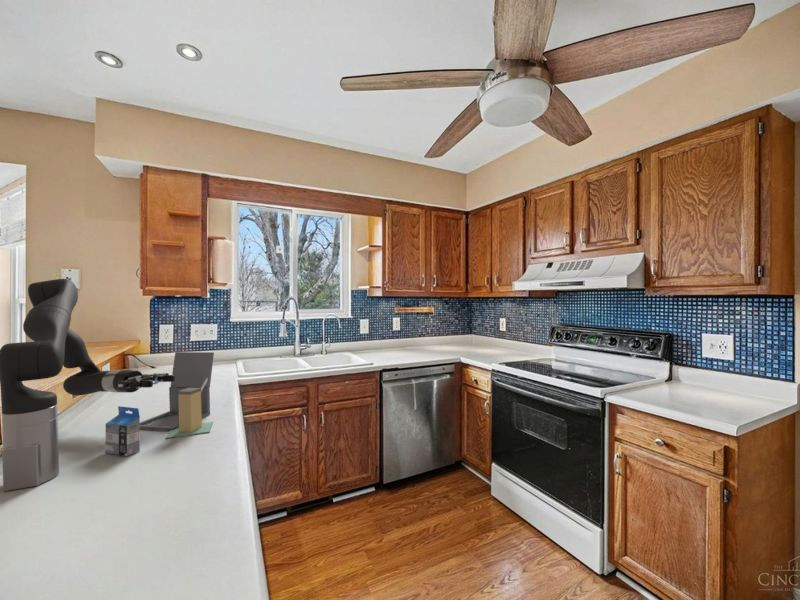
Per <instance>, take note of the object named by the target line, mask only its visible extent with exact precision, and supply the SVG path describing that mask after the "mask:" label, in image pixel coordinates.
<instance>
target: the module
mask: <svg viewBox="0 0 800 600" xmlns="http://www.w3.org/2000/svg"><path fill="white" fill-rule="evenodd" d="M178 401H179V414H178V424H179V431H181V432H193V431H195V430H197V429H199V428H201V427H202V423H203V422H202V421H203V418H202V415H201V388H186V389H183V390H180V391H178Z"/></svg>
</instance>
